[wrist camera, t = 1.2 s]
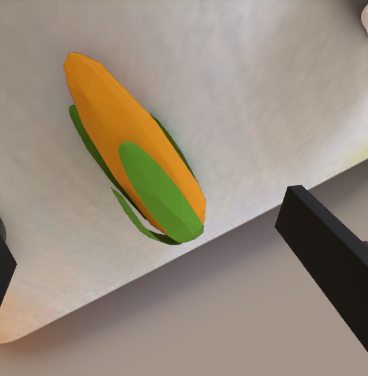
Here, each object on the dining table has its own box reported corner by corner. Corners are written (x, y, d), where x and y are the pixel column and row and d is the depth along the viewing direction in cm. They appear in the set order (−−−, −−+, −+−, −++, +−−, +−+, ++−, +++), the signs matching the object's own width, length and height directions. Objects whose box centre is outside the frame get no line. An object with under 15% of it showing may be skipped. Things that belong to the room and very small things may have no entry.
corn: (169, 278, 25) (-7, 104, 13) (155, 228, 31) (26, 77, 19) (234, 242, 25) (114, 27, 13) (207, 198, 31) (109, 25, 19)
